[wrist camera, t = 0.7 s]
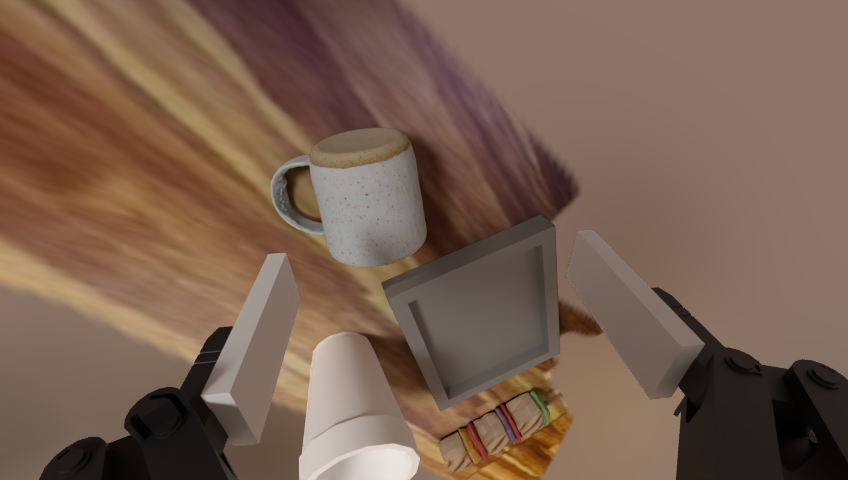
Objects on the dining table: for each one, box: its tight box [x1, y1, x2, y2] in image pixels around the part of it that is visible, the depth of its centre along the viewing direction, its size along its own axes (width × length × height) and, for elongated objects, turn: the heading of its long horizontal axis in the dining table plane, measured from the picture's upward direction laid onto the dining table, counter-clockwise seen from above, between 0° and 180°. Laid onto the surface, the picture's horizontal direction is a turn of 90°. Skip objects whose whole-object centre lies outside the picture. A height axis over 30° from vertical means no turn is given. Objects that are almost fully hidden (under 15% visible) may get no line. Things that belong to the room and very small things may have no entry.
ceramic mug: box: [270, 128, 427, 267], centre depth 25 cm, size 11×8×8 cm
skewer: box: [439, 391, 563, 474], centre depth 54 cm, size 21×6×5 cm, turn 110°
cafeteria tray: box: [382, 215, 560, 411], centre depth 41 cm, size 22×18×2 cm
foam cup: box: [299, 332, 420, 480], centre depth 32 cm, size 10×9×13 cm
